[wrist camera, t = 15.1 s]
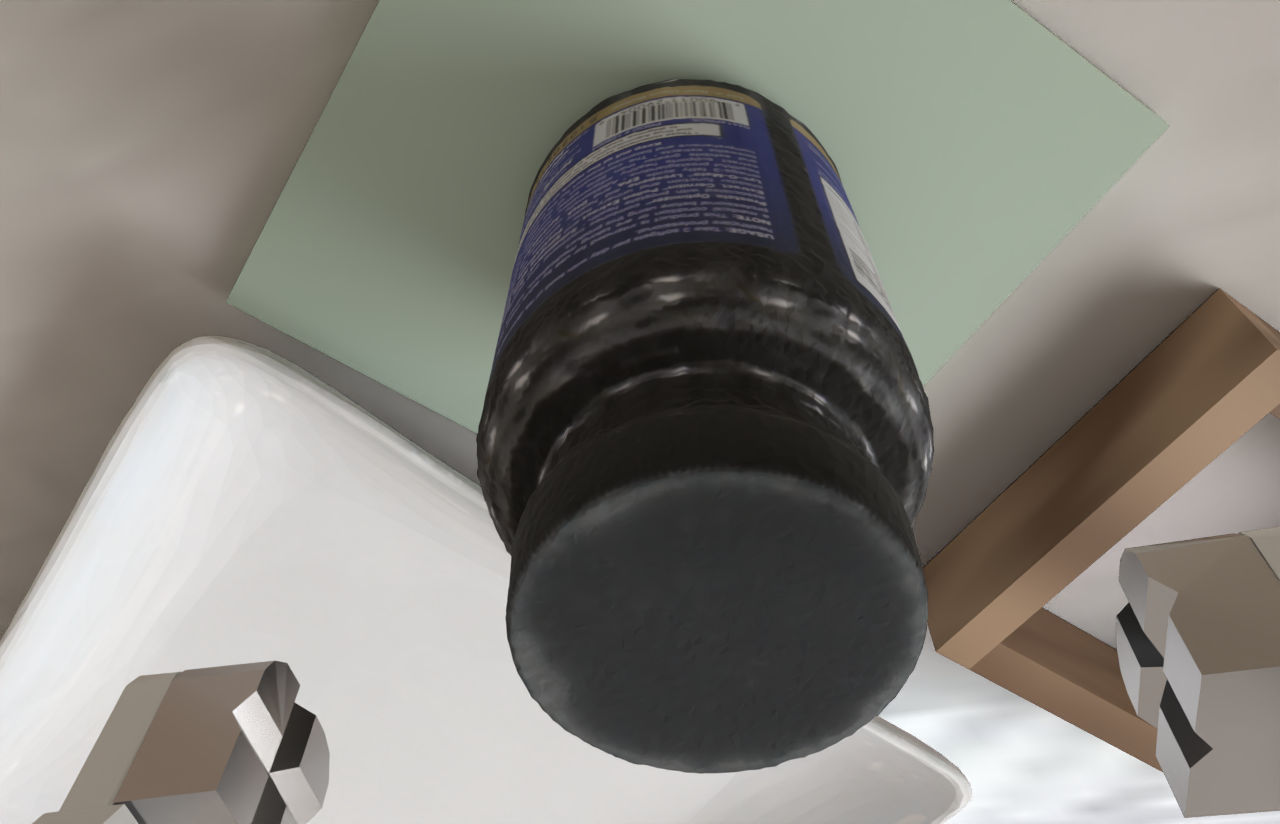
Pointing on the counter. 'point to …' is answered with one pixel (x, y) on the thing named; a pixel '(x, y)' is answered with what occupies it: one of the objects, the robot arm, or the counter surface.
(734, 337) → the pill bottle
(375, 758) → the salad plate
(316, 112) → the counter surface
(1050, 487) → the walnut collar
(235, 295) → the sage mat
